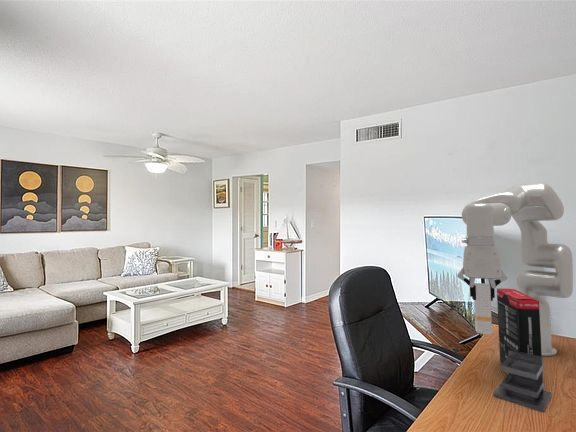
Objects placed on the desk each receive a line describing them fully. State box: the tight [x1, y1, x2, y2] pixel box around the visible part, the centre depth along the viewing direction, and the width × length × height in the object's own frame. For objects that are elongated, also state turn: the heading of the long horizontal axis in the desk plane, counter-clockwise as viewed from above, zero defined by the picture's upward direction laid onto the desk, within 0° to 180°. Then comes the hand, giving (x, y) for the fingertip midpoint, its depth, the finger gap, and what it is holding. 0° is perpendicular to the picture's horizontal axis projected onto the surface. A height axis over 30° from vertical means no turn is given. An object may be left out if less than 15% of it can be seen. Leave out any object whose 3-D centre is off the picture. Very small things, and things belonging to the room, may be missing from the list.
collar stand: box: [493, 350, 553, 413], centre depth 98 cm, size 12×12×11 cm
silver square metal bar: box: [473, 282, 493, 335], centre depth 106 cm, size 4×4×15 cm
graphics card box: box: [496, 288, 543, 365], centre depth 113 cm, size 17×7×27 cm, turn 168°
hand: (482, 299), depth 106 cm, fingers closed on silver square metal bar, 4 cm apart
